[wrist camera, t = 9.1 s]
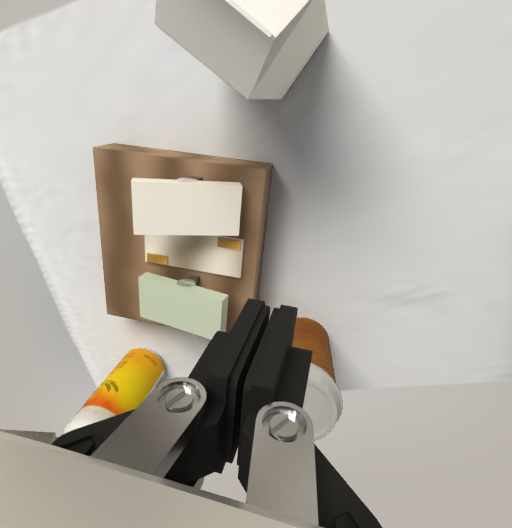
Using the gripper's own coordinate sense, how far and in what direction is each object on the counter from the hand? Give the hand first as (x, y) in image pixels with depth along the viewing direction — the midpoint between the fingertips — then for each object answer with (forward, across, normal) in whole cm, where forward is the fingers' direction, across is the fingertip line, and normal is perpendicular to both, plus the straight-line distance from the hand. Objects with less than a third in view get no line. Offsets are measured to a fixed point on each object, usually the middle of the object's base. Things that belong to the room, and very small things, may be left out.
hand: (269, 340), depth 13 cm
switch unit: (+29, +15, +9) cm, 34 cm away
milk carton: (+29, +7, -12) cm, 32 cm away
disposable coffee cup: (+30, 0, +20) cm, 36 cm away
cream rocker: (+23, +13, +3) cm, 26 cm away
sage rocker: (+23, +13, +14) cm, 30 cm away
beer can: (+28, +21, +29) cm, 46 cm away
